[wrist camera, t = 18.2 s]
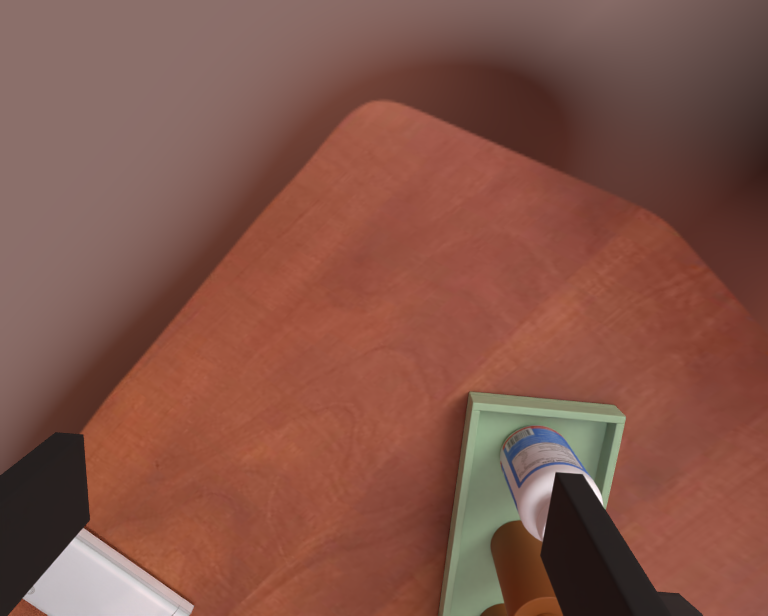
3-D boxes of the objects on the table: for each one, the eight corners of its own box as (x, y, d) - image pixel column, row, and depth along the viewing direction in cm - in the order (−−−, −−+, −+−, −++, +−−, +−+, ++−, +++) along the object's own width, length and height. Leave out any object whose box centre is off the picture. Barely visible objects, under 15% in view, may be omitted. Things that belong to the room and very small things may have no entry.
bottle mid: (494, 517, 42) (528, 636, 31) (551, 522, 42) (606, 643, 31) (486, 565, 43) (517, 697, 32) (542, 571, 43) (591, 704, 32)
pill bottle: (561, 488, 41) (611, 581, 31) (493, 481, 41) (522, 572, 31) (574, 425, 40) (630, 502, 30) (504, 418, 40) (538, 492, 30)
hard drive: (11, 594, 43) (132, 676, 45) (64, 531, 42) (188, 619, 43) (25, 579, 45) (141, 659, 47) (76, 518, 43) (195, 603, 45)
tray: (469, 391, 40) (472, 402, 38) (614, 404, 40) (626, 416, 38) (432, 656, 46) (433, 678, 44) (558, 668, 46) (566, 691, 44)
